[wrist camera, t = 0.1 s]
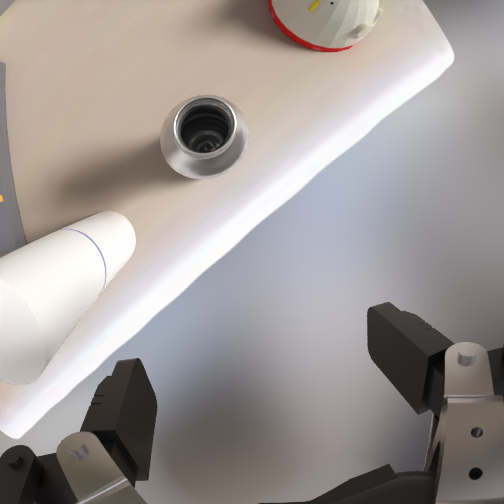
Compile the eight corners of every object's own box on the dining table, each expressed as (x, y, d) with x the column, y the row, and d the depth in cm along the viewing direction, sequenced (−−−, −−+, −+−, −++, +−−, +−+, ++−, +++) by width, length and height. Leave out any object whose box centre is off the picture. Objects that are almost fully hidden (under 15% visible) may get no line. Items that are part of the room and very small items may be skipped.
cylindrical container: (142, 260, 38) (66, 381, 14) (92, 272, 38) (-12, 387, 14) (126, 204, 36) (13, 257, 12) (76, 219, 36) (-60, 285, 12)
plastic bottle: (244, 157, 37) (284, 142, 18) (195, 188, 37) (184, 204, 18) (216, 112, 35) (227, 53, 16) (167, 143, 35) (126, 112, 16)
